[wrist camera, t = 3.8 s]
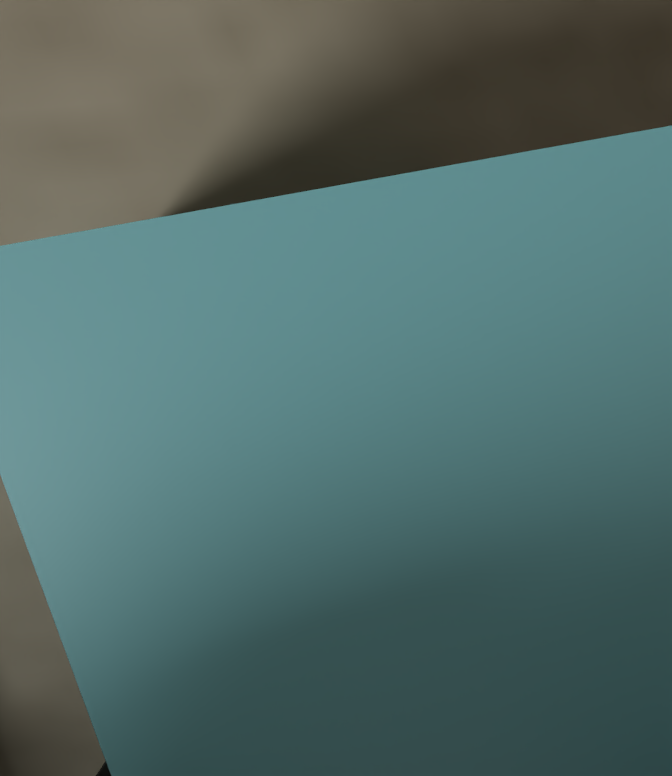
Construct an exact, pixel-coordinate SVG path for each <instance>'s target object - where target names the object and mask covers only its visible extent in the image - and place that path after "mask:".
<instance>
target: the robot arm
mask: <svg viewBox="0 0 672 776" xmlns="http://www.w3.org/2000/svg"><path fill="white" fill-rule="evenodd" d="M96 776H111V774H110V771H109V768H108V765H107V763H106V761H105V763H104V764H103V766H102V767H101V769H100V770H99V772H98V773H97V775H96Z"/></svg>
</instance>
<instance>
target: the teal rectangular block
mask: <svg viewBox="0 0 672 776" xmlns="http://www.w3.org/2000/svg"><path fill="white" fill-rule="evenodd" d="M0 475H1V478H2V481H3V483H4V486H5V489H6V491H7V494H8V497H9V499H10V502H11V505H12V508H13V510H14V513H15V516H16V519H17V521H18V524H19V527H20V529H21V532H22V535H23V537H24V540H25V543H26V546H27V548H28V551H29V554H30V556H31V559H32V562H33V565H34V567H35V570H36V573H37V575H38V578H39V581H40V584H41V586H42V589H43V592H44V594H45V597H46V600H47V603H48V605H49V608H50V611H51V613H52V616H53V619H54V622H55V624H56V627H57V630H58V632H59V635H60V638H61V641H62V643H63V646H64V649H65V651H66V654H67V657H68V660H69V662H70V665H71V668H72V670H73V673H74V676H75V679H76V681H77V684H78V687H79V689H80V692H81V695H82V698H83V700H84V703H85V706H86V708H87V711H88V714H89V717H90V719H91V722H92V725H93V727H94V730H95V733H96V736H97V738H98V741H99V744H100V746H101V749H102V752H103V755H104V757H105V760H106V763H107V765H108V768H109V771H110V774H111V776H672V125H671V126H666V127H660V128H655V129H649V130H644V131H638V132H632V133H627V134H621V135H616V136H610V137H605V138H599V139H593V140H588V141H582V142H577V143H571V144H566V145H560V146H554V147H549V148H543V149H538V150H532V151H527V152H521V153H515V154H510V155H504V156H499V157H493V158H488V159H482V160H476V161H471V162H465V163H460V164H454V165H449V166H443V167H437V168H432V169H426V170H421V171H415V172H410V173H404V174H398V175H393V176H387V177H382V178H376V179H371V180H365V181H359V182H354V183H348V184H343V185H337V186H332V187H326V188H321V189H315V190H309V191H304V192H298V193H293V194H287V195H282V196H276V197H270V198H265V199H259V200H254V201H248V202H243V203H237V204H231V205H226V206H220V207H215V208H209V209H204V210H198V211H192V212H187V213H181V214H176V215H170V216H165V217H159V218H153V219H148V220H142V221H137V222H131V223H126V224H120V225H114V226H109V227H103V228H98V229H92V230H87V231H81V232H75V233H70V234H64V235H59V236H53V237H48V238H42V239H36V240H31V241H25V242H20V243H14V244H9V245H3V246H0Z"/></svg>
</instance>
